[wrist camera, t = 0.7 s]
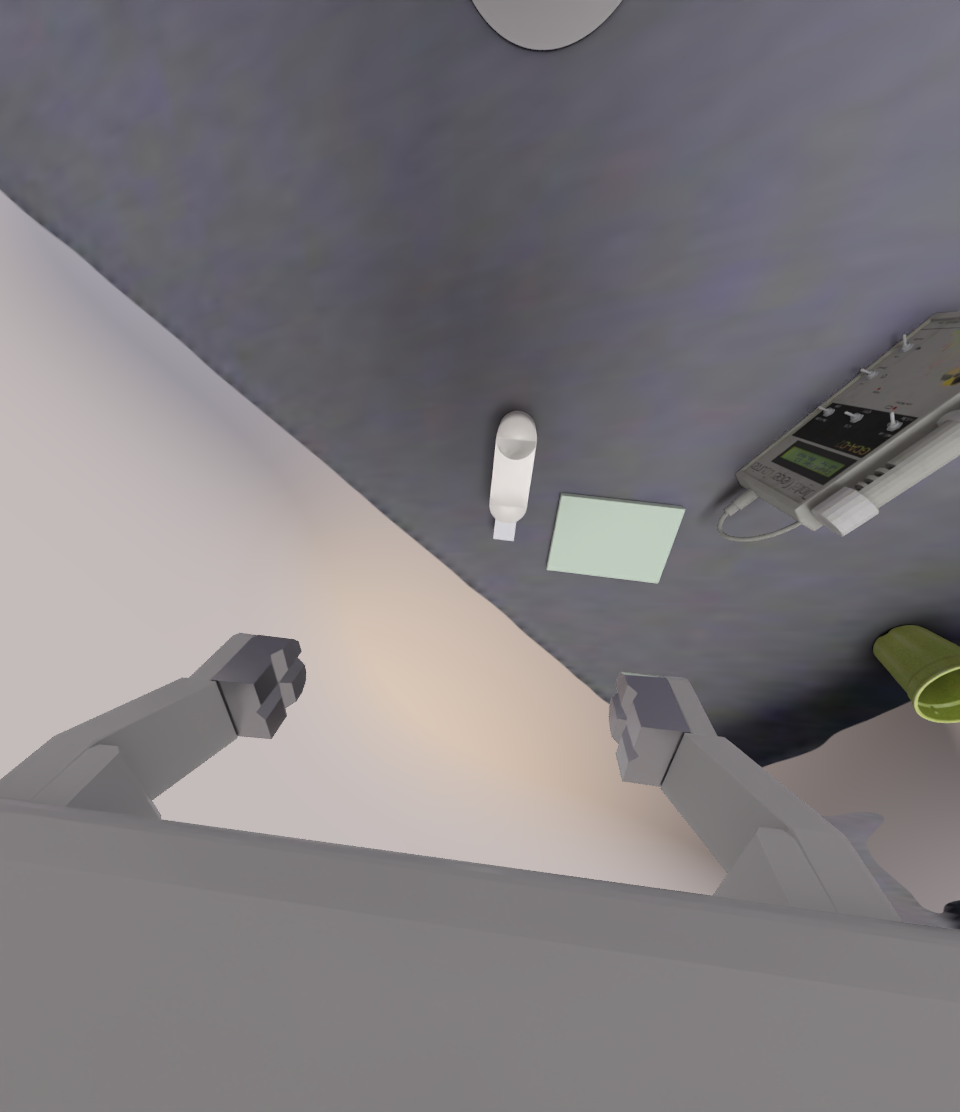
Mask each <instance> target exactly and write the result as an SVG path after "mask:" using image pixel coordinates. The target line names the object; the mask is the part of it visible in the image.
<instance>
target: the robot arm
mask: <svg viewBox="0 0 960 1112" xmlns="http://www.w3.org/2000/svg"><path fill="white" fill-rule="evenodd" d="M472 1H473V3H474V5H475V6H476V8H477V9H478V11H479V12H480V14H481V15H482V16H483V18H484V19H485V20H486V21H487V23H488V24H489V25H490V26H491V27H492V28H493V29H494V30H495V31H496V32H498V33H499V34H500V35H501V36H503V37H504V38H505V39H507V40H509V41H510V42H512V43H514V44H517V45H519V46H522V47H525V48H529V49H535V50H551V49H557V48H561V47H564V46H567V45H570V44H572V43H574V42H576V41H578V40H580V39H582V38H583V37H585V36H587V35H588V34H590V33H591V32H592V31H593V30H595V29H596V28H597V27H598V26H599V25H601V24H602V23H603V22H604V21H605V20H606V19H607V18H608V17H609V16H610V15H611V14H612V12H613V11H614V10H615V9H616V8H617V7H618V5H619V4H620V3H621V1H622V0H472ZM300 653H301V648H300V645H299V642H298V641H296V640H294V639H287V638H279V637H271V636H263V635H251V634H243V633H239V634H236V635H234V636H232V637H231V638H230V639H229V640H228V641H227V642H226V643H225V644H224V645H223V646H222V647H221V648H220V649H219V650H218V651H217V652H215V654H214V655H212V656H211V657H210V658H209V659H208V660H207V661H206V662H205V663H204V664H203V665H202V666H201V667H200V668H199V669H198V670H197V671H196V672H195V673H194V674H192V676H190V677H189V678H181V679H178V680H176V681H174V682H172V683H170V684H168V685H165V686H163V687H161V688H159V689H156V690H154V691H152V692H150V693H148V694H146V695H144V696H141V697H139V698H137V699H135V700H132V701H130V702H128V703H126V704H124V705H122V706H119V707H117V708H115V709H113V710H111V711H108V712H106V713H104V714H102V715H100V716H97V717H96V718H93V719H91V720H89V721H87V722H84V723H82V724H80V725H78V726H75V727H73V728H71V729H69V730H67V731H64V732H63V733H60V734H58V735H56V736H54V737H52V738H51V739H50V740H49V741H47V742H46V743H45V744H44V745H43V746H41V747H40V748H39V749H38V750H36V751H35V752H34V753H33V754H32V755H30V756H29V757H28V758H27V759H25V760H24V761H23V762H22V763H20V764H19V765H18V766H17V767H15V768H14V769H13V770H12V771H11V772H9V773H8V774H7V775H6V776H4V777H3V778H2V779H1V780H0V1112H960V930H957V929H949V928H942V927H935V926H928V925H920V924H913V923H906V922H903V921H902V920H901V918H900V917H899V915H898V914H897V912H896V911H895V909H894V908H893V906H892V905H891V903H890V902H889V900H888V899H887V897H886V896H885V894H884V893H883V891H882V890H881V888H880V887H879V885H878V884H877V882H876V881H875V879H874V878H873V876H872V875H871V873H870V872H869V870H868V869H867V867H866V866H865V864H864V863H863V861H862V860H861V858H860V857H859V855H858V854H857V852H856V851H855V849H854V848H853V846H852V845H851V843H850V842H849V840H848V839H847V837H846V836H845V835H844V834H843V833H841V832H840V831H839V830H838V829H836V828H835V827H834V826H833V825H832V824H830V823H829V822H828V821H827V820H825V819H824V818H823V817H822V816H820V815H819V814H818V813H817V812H816V811H814V810H813V809H812V808H811V807H809V806H808V805H807V804H806V803H805V802H803V801H802V800H801V799H800V798H798V797H797V796H796V795H795V794H793V793H792V792H791V791H790V790H789V789H787V788H786V787H785V786H783V785H782V784H781V783H780V782H779V781H777V780H776V779H775V778H774V777H773V776H771V775H770V774H769V773H768V772H766V771H765V770H764V769H763V768H762V767H760V766H759V765H758V764H757V763H755V762H754V761H753V760H752V759H750V758H749V757H748V756H747V755H746V754H744V753H743V752H742V751H741V750H739V749H738V748H737V747H736V746H735V745H733V744H732V743H731V742H730V741H728V740H727V739H726V738H725V737H718V736H717V734H716V732H715V730H714V729H713V727H712V725H711V723H710V721H709V719H708V717H707V715H706V713H705V711H704V709H703V707H702V705H701V703H700V701H699V700H698V698H697V696H696V694H695V692H694V690H693V688H692V686H691V684H690V682H689V681H688V680H687V679H686V678H682V677H671V676H657V675H646V674H635V673H624V672H620V674H619V675H618V677H617V680H616V687H617V691H618V693H617V694H615V695H614V696H612V698H611V702H610V707H609V724H610V730H611V735H612V737H613V739H614V740H615V741H616V742H617V743H618V744H619V745H618V748H617V752H616V756H617V761H618V765H619V769H620V773H621V777H622V781H625V782H632V783H638V784H645V785H652V786H659V787H661V790H662V791H663V792H664V794H665V795H666V796H667V797H668V799H669V800H670V801H671V803H672V804H673V805H674V806H675V808H676V809H677V810H678V811H679V813H680V814H681V815H682V817H683V818H684V819H685V820H686V821H687V823H688V824H689V825H690V826H691V828H692V829H693V830H694V832H695V833H696V834H697V835H698V837H699V838H700V839H701V841H702V842H703V843H704V844H705V846H706V847H707V848H708V849H709V851H710V852H711V853H712V854H713V856H714V857H715V858H716V859H717V861H718V862H719V863H720V865H721V866H722V867H723V868H724V870H725V871H726V872H727V873H728V874H727V875H726V876H725V878H724V879H723V881H722V882H721V884H720V886H719V887H718V888H717V890H716V891H715V893H714V894H713V896H710V895H703V894H696V893H688V892H681V891H674V890H667V889H660V888H652V887H645V886H638V885H630V884H623V883H616V882H609V881H602V880H594V879H587V878H580V877H573V876H565V875H558V874H551V873H544V872H537V871H530V870H522V869H515V868H508V867H500V866H494V865H486V864H479V863H472V862H464V861H458V860H451V859H443V858H436V857H429V856H422V855H414V854H407V853H399V852H393V851H385V850H378V849H371V848H364V847H356V846H349V845H341V844H334V843H326V842H320V841H312V840H305V839H298V838H290V837H284V836H276V835H268V834H262V833H254V832H247V831H240V830H233V829H226V828H218V827H210V826H203V825H196V824H190V823H182V822H175V821H168V820H161V815H160V813H159V811H158V810H157V808H156V806H155V805H154V803H153V802H152V800H153V799H154V798H156V797H157V796H159V795H160V794H161V793H163V792H164V791H165V790H167V789H168V788H170V787H171V786H172V785H174V784H175V783H176V782H178V781H179V780H180V779H182V778H183V777H185V776H186V775H187V774H189V773H190V772H191V771H193V770H194V769H195V768H197V767H198V766H200V765H201V764H202V763H204V762H205V761H207V760H208V759H209V758H211V757H212V756H213V755H215V754H216V753H217V752H219V751H220V750H221V749H223V748H224V747H226V746H227V745H228V744H230V743H231V742H232V741H234V740H235V739H236V738H237V736H244V737H255V738H266V739H272V737H273V736H274V734H275V733H276V731H277V730H278V728H279V727H280V725H281V724H282V722H283V721H284V719H285V718H286V716H287V715H286V707H288V706H290V705H291V704H293V703H294V702H296V701H297V699H298V698H299V696H300V694H301V693H302V691H303V688H304V684H305V681H306V669H305V665H304V664H303V663H302V662H301V661H300V660H299V659H298V658H297V657H298V656H299V654H300Z"/></svg>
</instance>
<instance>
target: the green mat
mask: <svg viewBox="0 0 960 1112" xmlns="http://www.w3.org/2000/svg"><path fill="white" fill-rule="evenodd" d="M684 512H685V509H684V508H683V507H682V506H675V505H666V504H658V503H649V502H640V501H631V500H622V499H613V498H605V497H596V496H587V495H578V494H569V493H561V494H560V500H559V505H558V510H557V515H556V520H555V525H554V530H553V535H552V540H551V545H550V551H549V556H548V561H547V570H552V571H561V572H569V573H577V574H585V575H593V576H602V577H610V578H618V579H626V580H635V581H643V582H651V583H658V582H659V580H660V577H661V574H662V572H663V569H664V566H665V563H666V561H667V558H668V555H669V553H670V550H671V547H672V545H673V542H674V539H675V536H676V534H677V531H678V528H679V526H680V523H681V520H682V518H683V515H684Z"/></svg>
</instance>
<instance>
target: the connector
mask: <svg viewBox="0 0 960 1112" xmlns="http://www.w3.org/2000/svg"><path fill="white" fill-rule="evenodd" d="M536 444H537V433H536V427H535V423H534V420H533V419H532V417H531V416H530V415H529V414H527V413H526V412H523V411H512V412H510V413H508V414H506V415H505V416H504V417H503V419H502V420H501V422H500V425H499V428H498V432H497V436H496V445H495V455H494V464H493V474H492V484H491V494H490V503H489V508H490V512H491V514H492V515H493V517H494V518H495V528H494V537H493V539H500V540H509V541H514V534H515V527H516V521H518V520H520V519H521V518H522V517H523V516H524V514H525V512H526V509H527V502H528V496H529V489H530V483H531V476H532V470H533V464H534V457H535V451H536Z"/></svg>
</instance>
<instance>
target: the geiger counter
mask: <svg viewBox="0 0 960 1112" xmlns="http://www.w3.org/2000/svg"><path fill="white" fill-rule="evenodd" d="M902 337H903V339H902V340H901V341H900V342H898V343H897V344H896V345H895V346H894V347H892V348H891V349H890V350H889V351H887V352H886V353H885V354H884V355H882V356H881V357H880V358H879V359H877V360H876V361H875V362H874V363H872V364H871V365H870V366H869V367H867V368H866V369H860V371H861V373H860V374H859V375H857V376H856V377H855V378H854V379H852V380H851V381H850V382H849V383H847V384H846V385H845V386H844V387H842V388H841V389H840V390H839V391H837V392H836V393H835V394H834V395H832V396H831V397H830V398H829V399H827V400H826V401H825V402H824V403H823V404H821V405H820V406H818V408H816V409H815V410H814V411H813V412H811V413H810V414H809V415H808V416H806V417H805V418H804V419H803V420H801V421H800V422H799V423H798V424H796V425H795V426H794V427H793V428H791V429H790V430H789V431H788V432H786V433H785V434H784V435H783V436H781V437H780V438H779V439H778V440H776V441H775V442H774V443H773V444H771V445H770V446H769V447H768V448H766V449H765V450H764V451H763V452H761V453H760V454H759V455H758V456H756V457H755V458H754V459H753V460H751V461H750V462H749V463H748V464H747V465H745V466H744V467H743V468H742V469H740V470H739V471H738V472H737V473H735V476H736V478H737V479H738V481H739V483H740V485H741V486H743V487H744V488H746V489H747V490H746V491H744V492H743V493H742V494H741V495H739V496H738V497H737V498H735V499H734V500H733V501H732V503H731V504H730V505H728V506H727V507H726V508H725V509H723V510H724V511H725V512H724V514H723V515H722V516H721V518H720V519H719V522H718V525H717V530H718V533H719V534H720V535H721V536H722V537H723V538H725V539H728V540H732V541H756V540H762V539H766V538H770V537H774V536H777V535H779V534H782V533H785V532H787V531H789V530H791V529H794V528H796V527H798V526H800V525H801V524H803V525H804V526H806V527H807V528H809V529H811V530H812V531H816V530H817V529H819V528H820V527H822V526H823V525H824V526H826V527H827V528H828V529H830V530H831V531H832V532H834V533H835V534H837V535H839V536H845V535H846V534H848V533H849V532H851V531H852V530H854V529H855V528H857V527H858V526H860V525H862V524H863V523H865V522H866V521H868V520H869V519H871V518H872V517H874V516H875V515H877V514H878V513H879V511H878V508H879V507H881V506H882V505H884V504H886V503H887V502H889V501H890V500H892V499H893V498H895V497H896V496H898V495H899V494H901V493H902V492H904V491H906V490H907V489H909V488H910V487H912V486H913V485H915V484H916V483H918V482H919V481H921V480H922V479H924V478H926V477H927V476H929V475H930V474H932V473H933V472H935V471H936V470H938V469H939V468H941V467H942V466H944V465H946V464H947V463H949V462H950V461H952V460H953V459H955V458H956V457H958V456H959V455H960V311H955V312H944V313H935V314H933V315H932V316H931V317H930V318H928V319H927V320H926V321H925V322H923V323H922V324H921V325H920V326H918V327H917V328H916V329H915V330H913V331H912V332H911V333H910V334H908V335H907V336H906V334H904V335H903V336H902ZM758 497H760V498H762V499H763V500H765V501H766V502H768V503H770V504H771V505H773V506H774V507H776V508H777V509H779V510H781V511H782V512H784V513H785V514H787V515H788V516H790V517H792V518H793V519H795V520H796V521H797V522H795V523H793V524H791V525H789V526H787V527H785V528H783V529H780V530H777V531H774V532H771V533H768V534H764V535H759V536H754V537H734V536H729V535H727V534H725V533H724V532H723V530H722V524H723V522H724V520H725V518H726V517H727V516H728V515H729V516H732V515H733V514H734V513H736V512H737V511H738V510H742V509H743V508H744V507H746V506H747V505H748V504H750V503H751V502H752V501H754V500H755V499H756V498H758Z"/></svg>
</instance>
